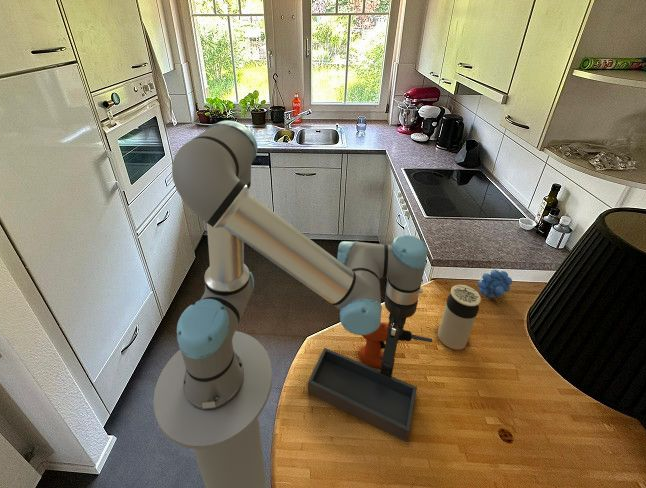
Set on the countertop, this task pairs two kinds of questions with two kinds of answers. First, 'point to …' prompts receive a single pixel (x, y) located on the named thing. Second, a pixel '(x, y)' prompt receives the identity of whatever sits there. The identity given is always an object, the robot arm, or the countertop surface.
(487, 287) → the grapes
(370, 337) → the toy drill
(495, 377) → the countertop surface
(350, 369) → the tray
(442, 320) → the travel mug
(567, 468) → the countertop surface
